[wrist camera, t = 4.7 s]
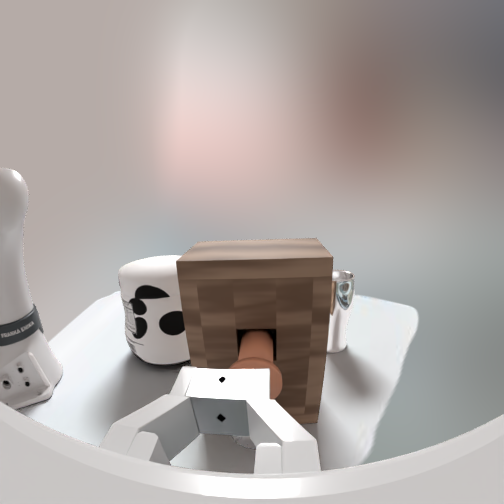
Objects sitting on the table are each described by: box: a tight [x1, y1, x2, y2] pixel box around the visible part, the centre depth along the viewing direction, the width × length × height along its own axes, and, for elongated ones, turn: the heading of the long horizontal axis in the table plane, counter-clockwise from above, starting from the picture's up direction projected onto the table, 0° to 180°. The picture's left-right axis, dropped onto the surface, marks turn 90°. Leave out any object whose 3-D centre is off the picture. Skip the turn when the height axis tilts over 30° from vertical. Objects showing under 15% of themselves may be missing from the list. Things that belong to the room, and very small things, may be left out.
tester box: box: [176, 238, 333, 424], centre depth 35 cm, size 10×16×24 cm, turn 87°
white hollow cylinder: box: [327, 270, 355, 353], centre depth 51 cm, size 7×7×15 cm
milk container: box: [118, 255, 190, 366], centre depth 52 cm, size 17×17×18 cm
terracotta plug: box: [229, 329, 282, 400], centre depth 27 cm, size 8×5×5 cm, turn 177°
